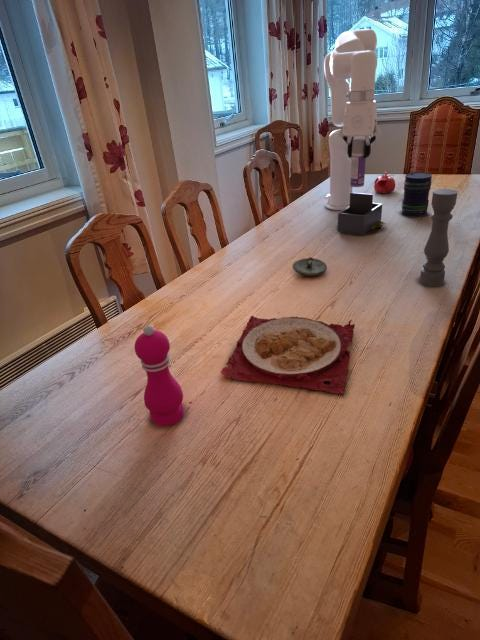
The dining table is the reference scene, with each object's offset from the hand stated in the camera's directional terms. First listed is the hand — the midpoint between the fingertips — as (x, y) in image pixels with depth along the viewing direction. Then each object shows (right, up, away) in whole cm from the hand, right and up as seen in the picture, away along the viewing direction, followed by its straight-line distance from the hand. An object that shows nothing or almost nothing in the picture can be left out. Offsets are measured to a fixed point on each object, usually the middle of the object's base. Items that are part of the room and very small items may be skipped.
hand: (358, 156), depth 146 cm
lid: (-19, -41, -12) cm, 46 cm away
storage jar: (+30, -13, +28) cm, 43 cm away
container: (+1, -9, +5) cm, 10 cm away
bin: (+5, -20, +18) cm, 28 cm away
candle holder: (+13, -45, -25) cm, 53 cm away
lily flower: (+10, -20, +18) cm, 29 cm away
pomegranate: (+28, +5, +59) cm, 65 cm away
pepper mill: (-54, -74, -63) cm, 112 cm away
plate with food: (-29, -63, -49) cm, 85 cm away
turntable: (+5, -20, +18) cm, 28 cm away
